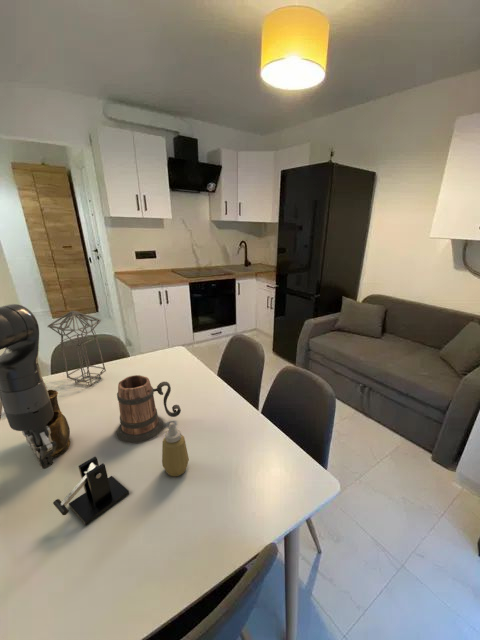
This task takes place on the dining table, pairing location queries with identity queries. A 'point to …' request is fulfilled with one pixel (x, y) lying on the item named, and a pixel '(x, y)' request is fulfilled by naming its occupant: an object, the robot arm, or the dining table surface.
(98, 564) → the dining table surface
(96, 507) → the bracket
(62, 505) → the lever
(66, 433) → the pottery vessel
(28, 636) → the dining table surface
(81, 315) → the geometric lantern
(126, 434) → the tankard
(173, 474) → the squeeze bottle
